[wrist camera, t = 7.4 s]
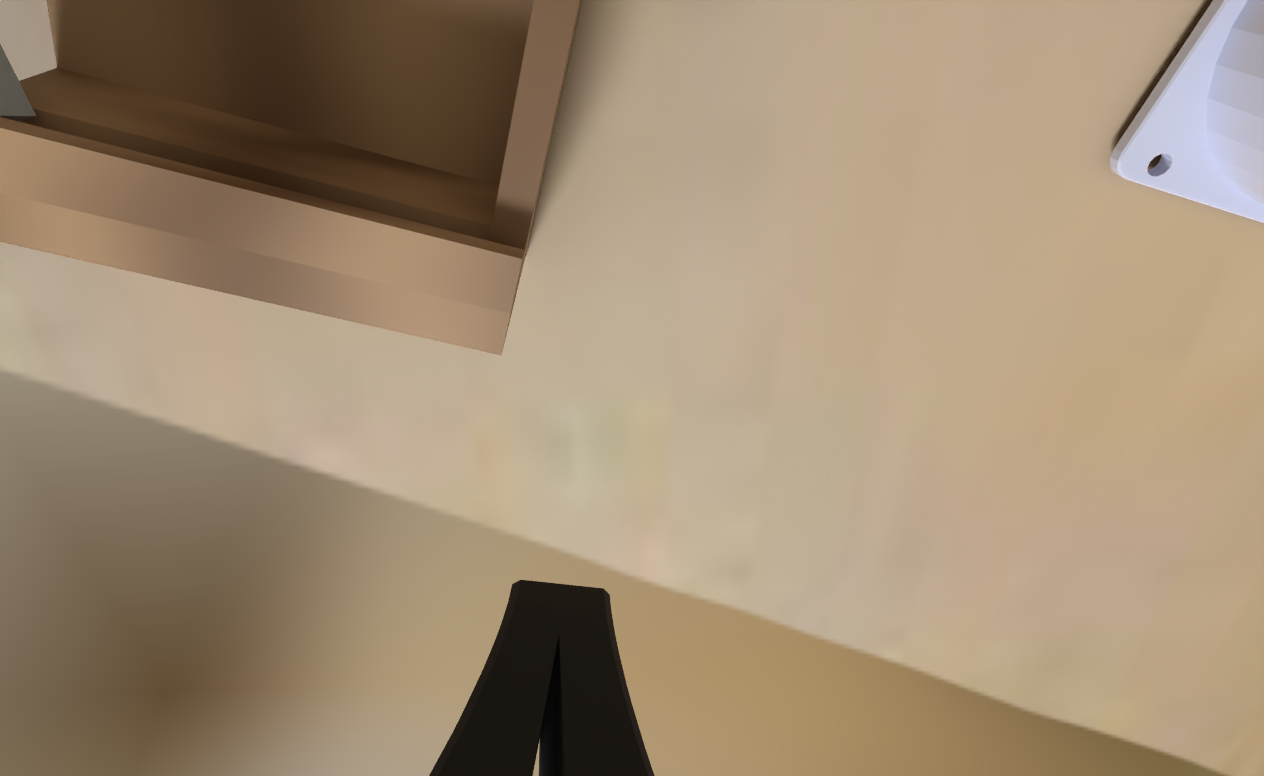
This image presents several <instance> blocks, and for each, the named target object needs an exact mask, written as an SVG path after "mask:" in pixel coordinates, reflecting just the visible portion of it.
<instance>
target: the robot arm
mask: <svg viewBox="0 0 1264 776" xmlns="http://www.w3.org/2000/svg"><path fill="white" fill-rule="evenodd" d="M1160 154H1161V156H1162V157H1161V159H1160V161H1159V163H1158V164H1157V165H1156V166H1155V167H1154V168H1152V169H1150V170H1147V167H1148V165H1149V163H1150V161H1151V160H1152V159H1153V158H1154V157H1156V156H1158V155H1160ZM1110 166H1111V169H1112V171H1113V172H1115V173H1116V174H1118V175H1120V176H1121V177H1123V178H1125V179H1127V180H1130V181H1133V182H1136V183H1139V184H1143V185H1146V186H1149V187H1152V188H1155V189H1158V190H1161V191H1165V192H1168V193H1171V194H1174V195H1177V196H1180V197H1184V198H1187V199H1190V200H1193V201H1196V202H1199V203H1202V204H1206V205H1209V206H1212V207H1215V208H1218V209H1221V210H1225V211H1228V212H1231V213H1234V214H1237V215H1240V216H1243V217H1247V218H1250V219H1253V220H1256V221H1259V222H1262V223H1264V0H1213V1H1212V3H1211V4H1210V6H1209V7H1208V9H1207V10H1206V12H1205V13H1204V15H1203V16H1202V18H1201V19H1200V21H1199V22H1198V24H1197V25H1196V27H1195V28H1194V30H1193V31H1192V33H1191V34H1190V36H1189V37H1188V39H1187V40H1186V42H1185V43H1184V45H1183V46H1182V48H1181V49H1180V51H1179V52H1178V54H1177V55H1176V57H1175V58H1174V60H1173V61H1172V63H1171V64H1170V66H1169V67H1168V69H1167V70H1166V72H1165V73H1164V75H1163V76H1162V78H1161V79H1160V81H1159V82H1158V84H1157V85H1156V87H1155V88H1154V90H1153V91H1152V93H1151V94H1150V96H1149V97H1148V99H1147V100H1146V102H1145V103H1144V105H1143V106H1142V108H1141V109H1140V111H1139V112H1138V114H1137V115H1136V117H1135V118H1134V120H1133V121H1132V123H1131V124H1130V126H1129V127H1128V129H1127V130H1126V132H1125V133H1124V135H1123V136H1122V138H1121V139H1120V141H1119V142H1118V144H1117V145H1116V147H1115V148H1114V150H1113V152H1112V154H1111V156H1110ZM539 739H540V751H539V776H654V773H653V771H652V767H651V765H650V761H649V758H648V755H647V753H646V749H645V746H644V743H643V740H642V736H641V733H640V730H639V726H638V723H637V720H636V716H635V713H634V710H633V706H632V703H631V699H630V696H629V692H628V688H627V685H626V681H625V676H624V672H623V668H622V664H621V660H620V656H619V651H618V646H617V641H616V637H615V631H614V626H613V619H612V613H611V605H610V595H609V594H608V593H607V592H606V591H605V590H604V589H601V588H593V587H583V586H573V585H563V584H555V583H546V582H536V581H526V580H520V581H518V582H516V583H514V584H512V588H511V593H510V597H509V601H508V605H507V608H506V611H505V614H504V617H503V620H502V624H501V626H500V629H499V632H498V634H497V637H496V640H495V642H494V645H493V647H492V649H491V652H490V654H489V657H488V659H487V661H486V664H485V666H484V669H483V671H482V673H481V675H480V677H479V679H478V681H477V684H476V686H475V688H474V690H473V692H472V694H471V696H470V698H469V701H468V703H467V705H466V707H465V709H464V711H463V713H462V715H461V717H460V719H459V722H458V723H457V725H456V727H455V729H454V731H453V733H452V735H451V737H450V739H449V740H448V742H447V744H446V746H445V748H444V750H443V751H442V753H441V755H440V757H439V759H438V761H437V763H436V764H435V766H434V768H433V770H432V772H431V773H430V776H532V775H533V770H534V765H535V760H536V754H537V749H538V744H539Z"/></svg>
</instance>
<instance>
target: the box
mask: <svg viewBox="0 0 1264 776" xmlns="http://www.w3.org/2000/svg"><path fill="white" fill-rule="evenodd" d="M581 1H582V0H47V6H48V12H49V18H50V25H51V31H52V37H53V43H54V50H55V56H56V62H57V68H56V69H53V70H50V71H47V72H44V73H41V74H38V75H36V76H33V77H30V78H27V79H24V80H21V81H19V82H20V84H21V86H22V88H23V90H24V92H25V94H26V96H27V98H28V100H29V102H30V104H31V106H32V108H33V110H34V112H35V114H36V117H33V118H30V119H27V120H24V121H21V122H18V121H14V120H10V119H6V118H2V117H0V242H3V243H8V244H12V245H17V246H21V247H25V248H30V249H34V250H39V251H43V252H48V253H52V254H56V255H61V256H65V257H70V258H74V259H78V260H83V261H87V262H92V263H96V264H100V265H105V266H109V267H114V268H118V269H123V270H127V271H131V272H136V273H140V274H145V275H149V276H153V277H158V278H162V279H167V280H171V281H175V282H180V283H184V284H189V285H193V286H198V287H202V288H206V289H211V290H215V291H220V292H224V293H228V294H233V295H237V296H242V297H246V298H250V299H255V300H259V301H264V302H268V303H273V304H277V305H281V306H286V307H290V308H295V309H299V310H303V311H308V312H312V313H317V314H321V315H326V316H330V317H334V318H339V319H343V320H348V321H352V322H356V323H361V324H365V325H370V326H374V327H378V328H383V329H387V330H392V331H396V332H401V333H405V334H409V335H414V336H418V337H423V338H427V339H431V340H436V341H440V342H445V343H449V344H453V345H458V346H462V347H467V348H471V349H476V350H480V351H484V352H489V353H493V354H498V355H502V351H503V347H504V342H505V338H506V334H507V330H508V326H509V322H510V318H511V313H512V309H513V305H514V301H515V297H516V293H517V289H518V285H519V280H520V276H521V272H522V268H523V264H524V260H525V255H526V251H527V246H528V242H529V237H530V233H531V228H532V224H533V219H534V214H535V210H536V205H537V201H538V196H539V192H540V187H541V183H542V178H543V174H544V169H545V165H546V160H547V156H548V151H549V146H550V142H551V137H552V133H553V128H554V124H555V119H556V115H557V110H558V106H559V101H560V97H561V92H562V88H563V83H564V78H565V74H566V69H567V65H568V60H569V56H570V51H571V47H572V42H573V38H574V33H575V29H576V24H577V19H578V15H579V10H580V6H581Z"/></svg>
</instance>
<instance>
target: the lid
mask: <svg viewBox="0 0 1264 776" xmlns="http://www.w3.org/2000/svg"><path fill="white" fill-rule="evenodd" d="M0 117H2V118H6V119H10V120H14V121H18V122H21V121H24V120H27V119H30V118H33V117H36V114H35V112H34V110H33V108H32V106H31V104H30V102H29V100H28V98H27V96H26V94H25V92H24V90H23V88H22V86H21V84H20V82H19V80H18V78H17V76H16V74H15V73H14V71H13V69H12V67H11V65H10V63H9V61H8V59H7V57H6V55H5V53H4V51H3V49H2V47H1V45H0Z"/></svg>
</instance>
